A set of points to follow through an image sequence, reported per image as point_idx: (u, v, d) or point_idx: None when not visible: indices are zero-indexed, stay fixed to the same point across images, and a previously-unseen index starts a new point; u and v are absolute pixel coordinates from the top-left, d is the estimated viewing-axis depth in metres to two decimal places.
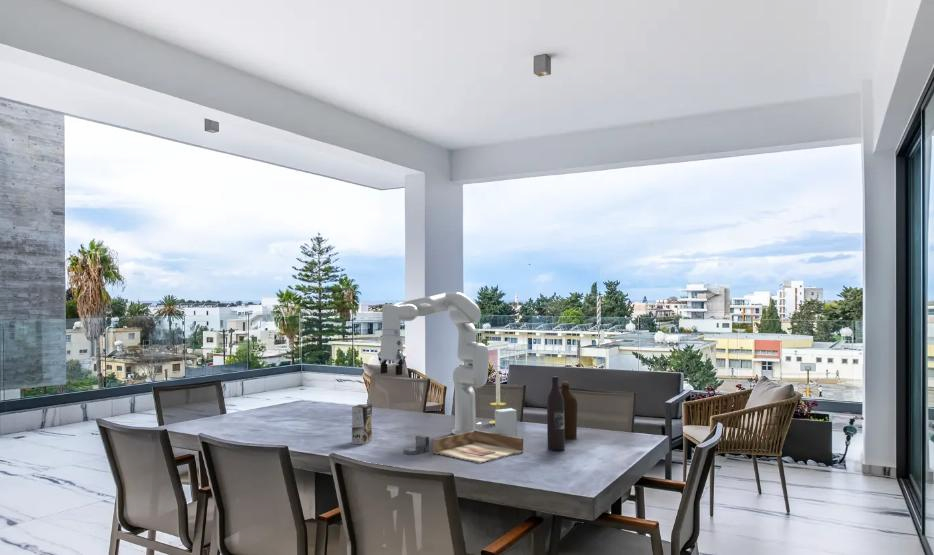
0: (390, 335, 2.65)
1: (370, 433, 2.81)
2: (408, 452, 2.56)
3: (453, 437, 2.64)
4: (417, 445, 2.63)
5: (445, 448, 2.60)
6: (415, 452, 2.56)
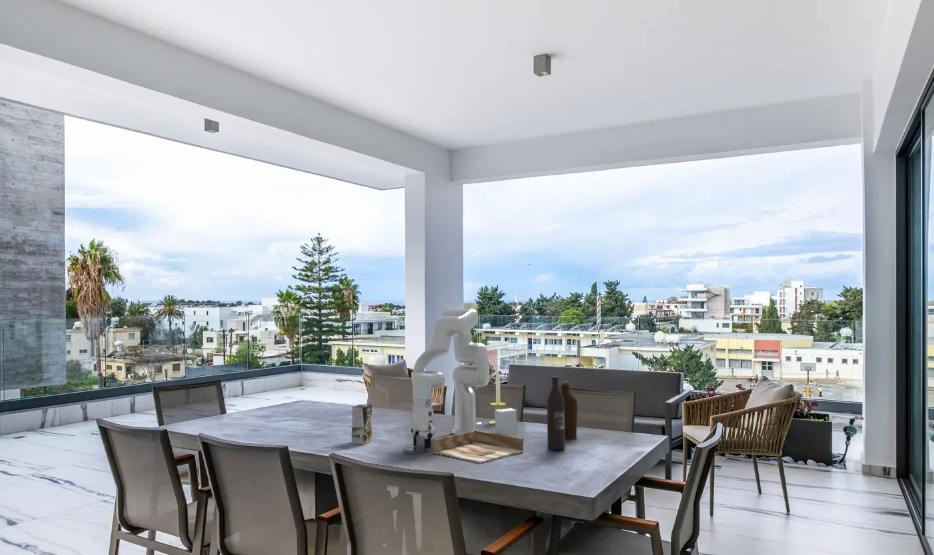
0: (421, 406, 2.60)
1: (370, 433, 2.81)
2: (408, 452, 2.56)
3: (453, 437, 2.64)
4: (417, 445, 2.63)
5: (445, 448, 2.60)
6: (415, 452, 2.56)
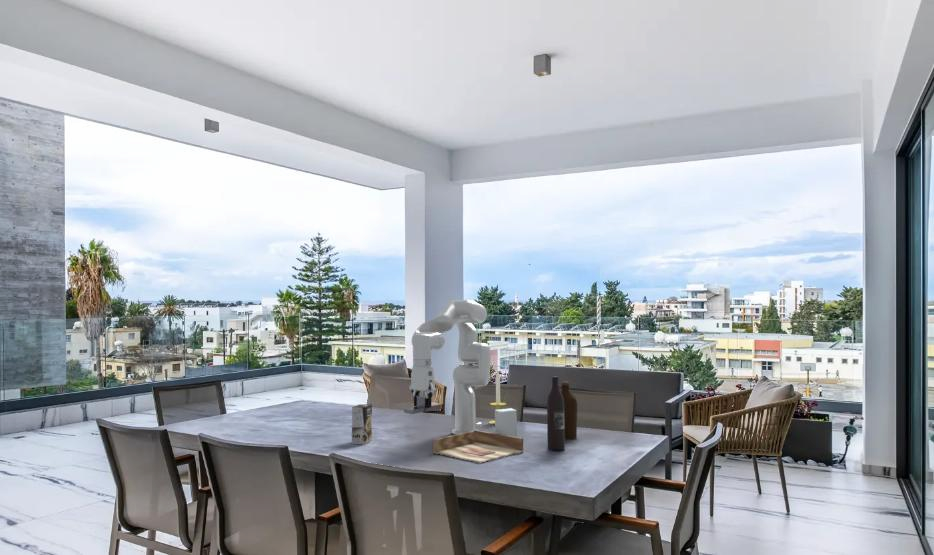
0: (421, 366, 2.61)
1: (370, 433, 2.81)
2: (408, 411, 2.58)
3: (453, 437, 2.64)
4: (417, 405, 2.64)
5: (445, 448, 2.60)
6: (415, 411, 2.58)
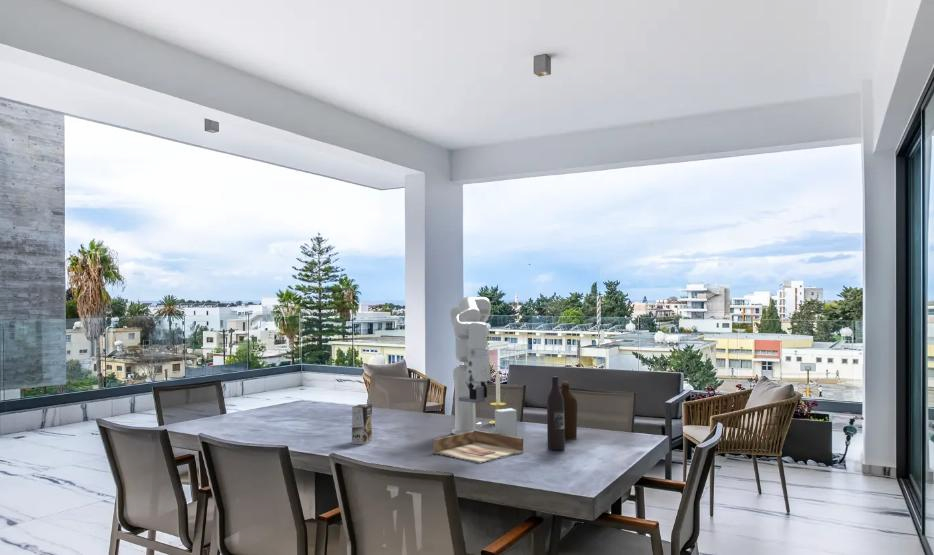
0: (468, 355, 2.55)
1: (370, 433, 2.81)
2: None
3: (453, 437, 2.64)
4: None
5: (445, 448, 2.60)
6: (462, 399, 2.57)
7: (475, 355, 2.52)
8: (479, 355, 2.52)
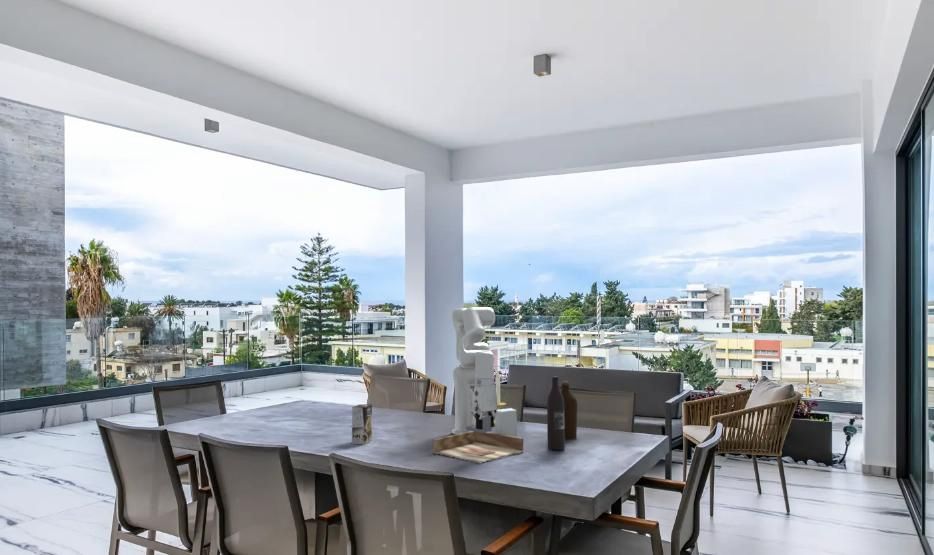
0: (475, 384, 2.54)
1: (370, 433, 2.81)
2: None
3: (453, 437, 2.64)
4: None
5: (445, 448, 2.60)
6: (469, 429, 2.55)
7: (481, 385, 2.50)
8: (485, 385, 2.50)
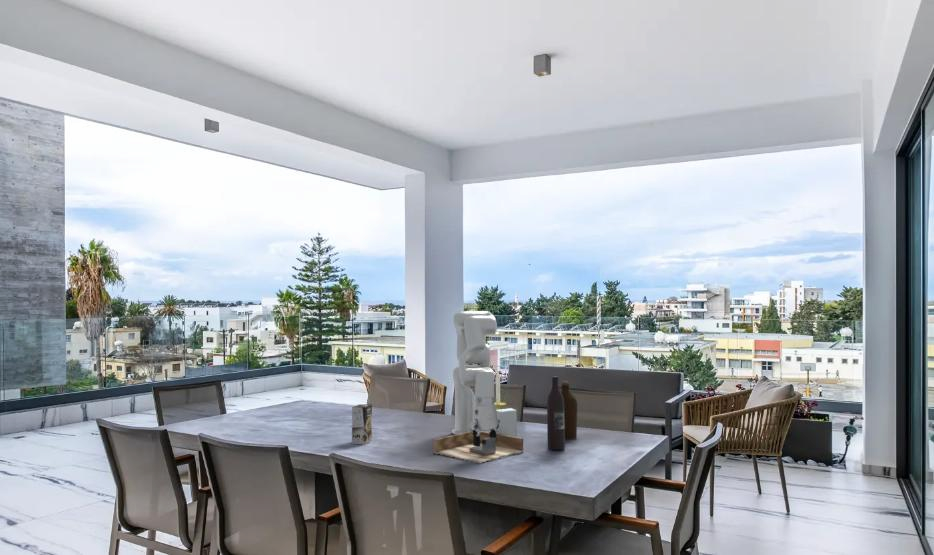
0: (475, 402, 2.54)
1: (370, 433, 2.81)
2: None
3: (453, 437, 2.64)
4: None
5: (445, 448, 2.60)
6: (473, 450, 2.54)
7: (481, 403, 2.50)
8: (485, 403, 2.50)
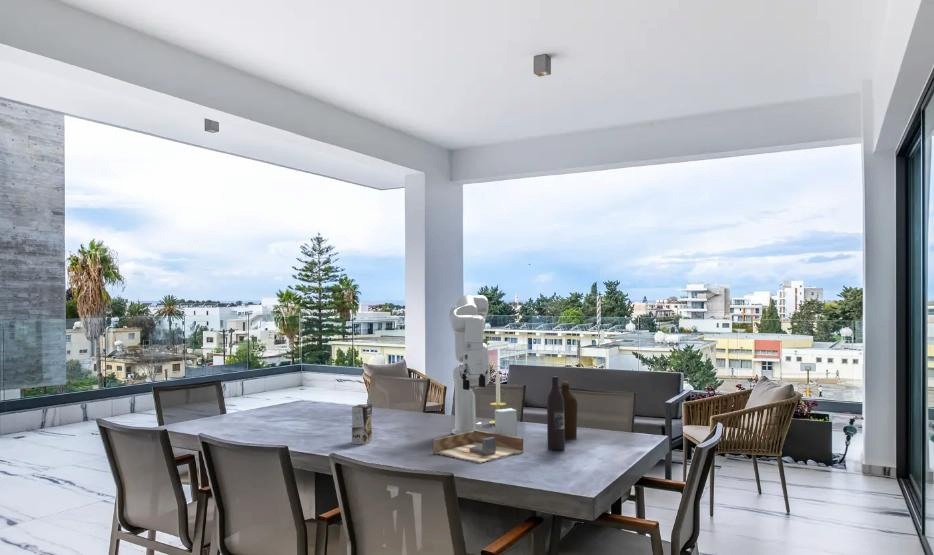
0: (465, 348, 2.61)
1: (370, 433, 2.81)
2: None
3: (453, 437, 2.64)
4: None
5: (445, 448, 2.60)
6: (473, 450, 2.54)
7: (471, 348, 2.58)
8: (475, 348, 2.57)
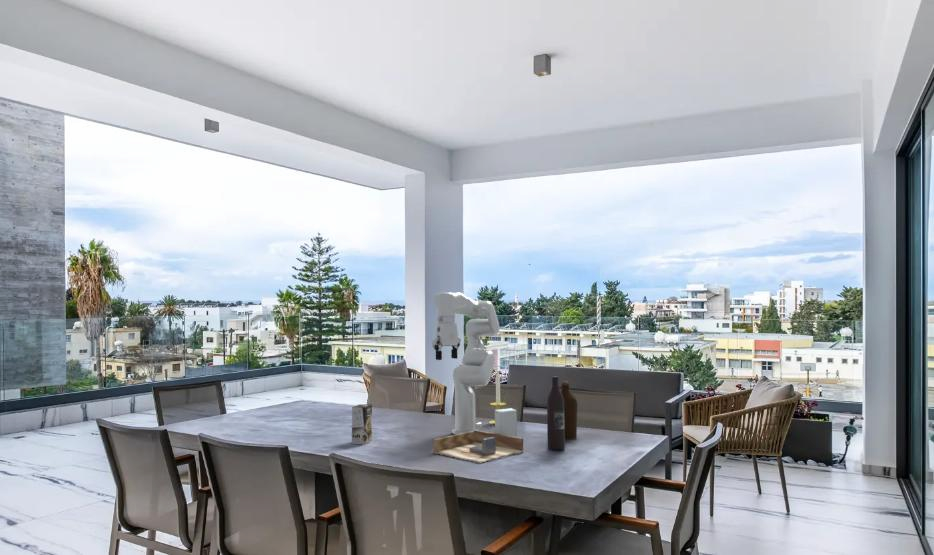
0: (438, 322, 2.81)
1: (370, 433, 2.81)
2: None
3: (453, 437, 2.64)
4: None
5: (445, 448, 2.60)
6: (473, 450, 2.54)
7: (443, 322, 2.78)
8: (446, 322, 2.78)
